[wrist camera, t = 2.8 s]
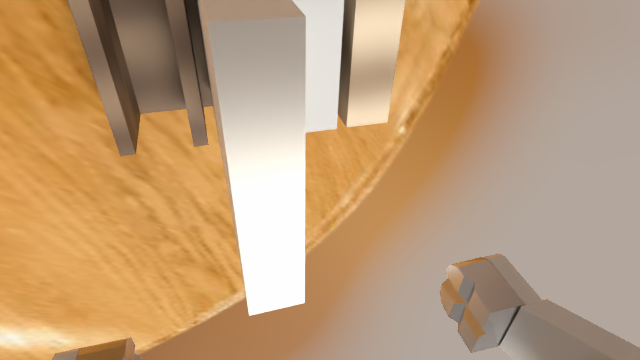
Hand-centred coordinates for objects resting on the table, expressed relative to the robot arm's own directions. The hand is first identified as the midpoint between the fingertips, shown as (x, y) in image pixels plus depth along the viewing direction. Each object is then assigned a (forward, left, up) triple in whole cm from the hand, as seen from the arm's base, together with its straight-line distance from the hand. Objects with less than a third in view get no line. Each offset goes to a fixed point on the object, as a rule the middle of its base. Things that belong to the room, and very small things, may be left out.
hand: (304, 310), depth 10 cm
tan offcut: (0, +9, -26) cm, 28 cm away
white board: (0, 0, -26) cm, 26 cm away
